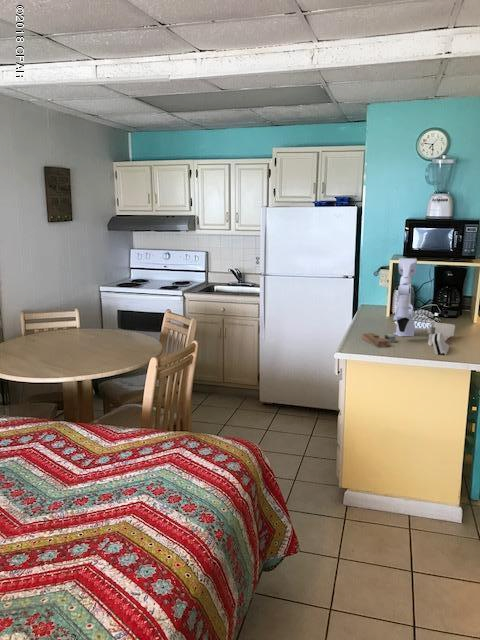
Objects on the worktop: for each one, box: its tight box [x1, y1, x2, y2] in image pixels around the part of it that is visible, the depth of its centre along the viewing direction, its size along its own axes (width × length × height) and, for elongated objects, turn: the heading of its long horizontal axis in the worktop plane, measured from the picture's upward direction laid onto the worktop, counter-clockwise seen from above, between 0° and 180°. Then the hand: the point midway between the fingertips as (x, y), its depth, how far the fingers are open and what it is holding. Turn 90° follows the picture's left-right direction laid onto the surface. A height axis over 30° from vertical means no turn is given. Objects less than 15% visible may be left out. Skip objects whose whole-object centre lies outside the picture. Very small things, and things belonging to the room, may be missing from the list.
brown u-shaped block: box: [361, 332, 391, 348], centre depth 285 cm, size 7×18×3 cm, turn 14°
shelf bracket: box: [427, 321, 456, 346], centre depth 289 cm, size 6×25×13 cm, turn 135°
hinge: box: [432, 333, 450, 356], centre depth 269 cm, size 17×5×10 cm, turn 154°
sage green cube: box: [384, 333, 396, 344], centre depth 287 cm, size 4×4×4 cm
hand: (401, 331), depth 288 cm, fingers closed
